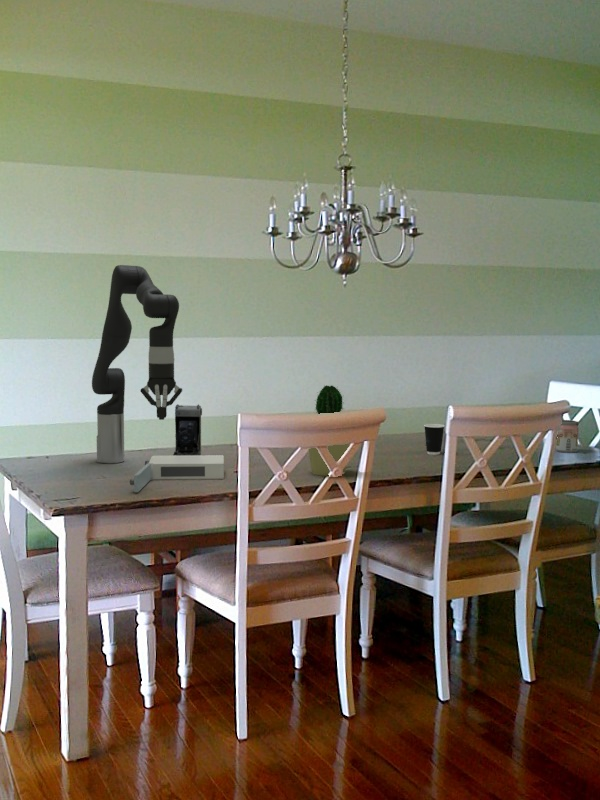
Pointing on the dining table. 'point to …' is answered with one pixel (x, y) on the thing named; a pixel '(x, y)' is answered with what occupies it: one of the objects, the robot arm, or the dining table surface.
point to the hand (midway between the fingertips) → (161, 419)
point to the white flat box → (188, 467)
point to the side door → (142, 477)
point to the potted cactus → (327, 403)
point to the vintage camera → (188, 430)
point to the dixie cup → (434, 438)
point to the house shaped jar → (568, 437)
